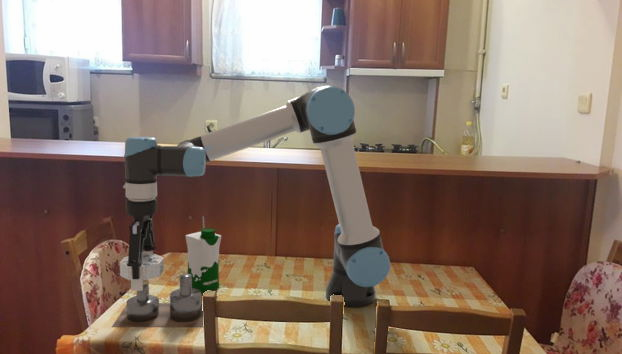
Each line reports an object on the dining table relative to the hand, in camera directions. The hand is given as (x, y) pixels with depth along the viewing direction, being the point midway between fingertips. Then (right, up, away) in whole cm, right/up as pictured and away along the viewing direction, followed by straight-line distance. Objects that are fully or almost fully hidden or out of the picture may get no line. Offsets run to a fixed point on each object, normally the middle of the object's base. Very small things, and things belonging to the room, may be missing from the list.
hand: (142, 281), depth 125 cm
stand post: (+10, -9, +2) cm, 14 cm away
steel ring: (0, +2, 0) cm, 2 cm away
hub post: (0, -9, +1) cm, 9 cm away
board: (+5, -11, +3) cm, 12 cm away
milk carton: (+11, -8, +22) cm, 25 cm away
